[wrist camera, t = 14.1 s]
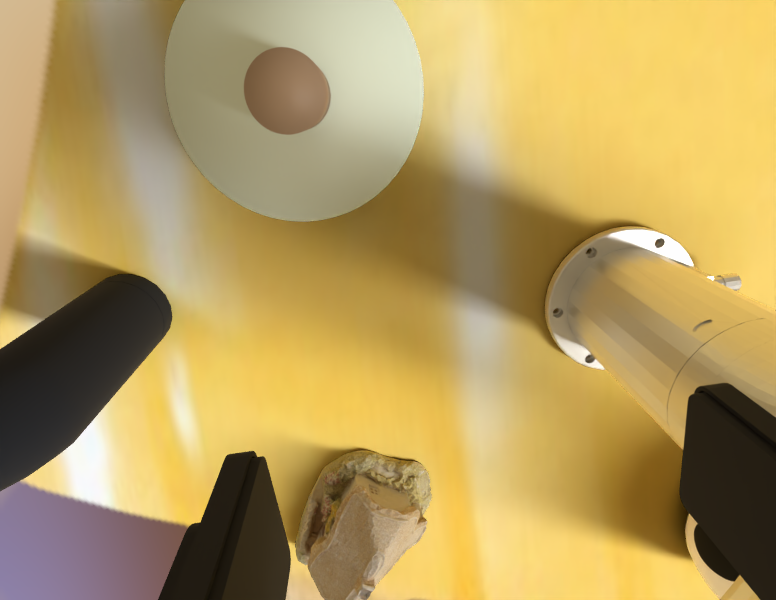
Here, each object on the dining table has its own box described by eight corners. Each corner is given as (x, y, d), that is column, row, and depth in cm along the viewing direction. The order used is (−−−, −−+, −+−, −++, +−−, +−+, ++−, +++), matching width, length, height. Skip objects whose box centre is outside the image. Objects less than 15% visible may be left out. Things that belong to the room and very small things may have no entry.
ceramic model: (347, 427, 46) (345, 508, 37) (449, 474, 49) (471, 561, 39) (278, 533, 50) (260, 630, 41) (375, 571, 53) (379, 671, 43)
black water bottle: (188, 327, 42) (-158, 769, 14) (122, 358, 42) (-335, 841, 14) (142, 260, 40) (-381, 622, 12) (73, 294, 40) (-577, 716, 12)
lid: (406, -69, 28) (418, -114, 22) (433, 201, 33) (448, 219, 28) (137, -32, 28) (81, -67, 22) (207, 233, 33) (176, 258, 28)
